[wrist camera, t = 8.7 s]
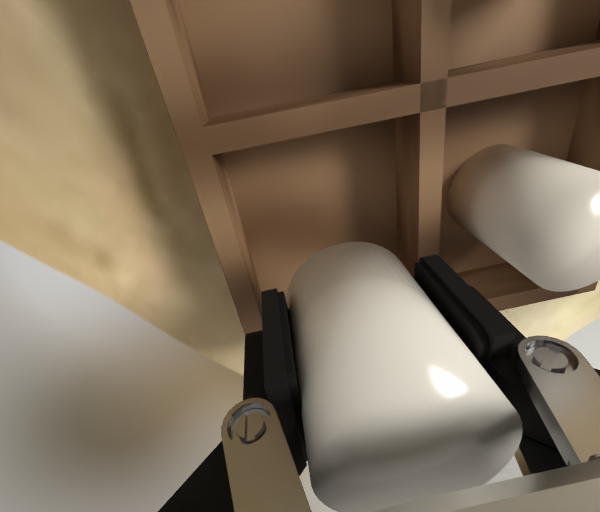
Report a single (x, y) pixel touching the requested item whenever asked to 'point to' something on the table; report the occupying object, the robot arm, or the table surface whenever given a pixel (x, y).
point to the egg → (389, 386)
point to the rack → (366, 122)
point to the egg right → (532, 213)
